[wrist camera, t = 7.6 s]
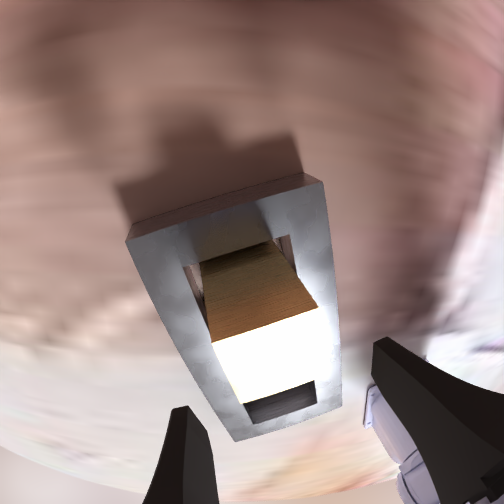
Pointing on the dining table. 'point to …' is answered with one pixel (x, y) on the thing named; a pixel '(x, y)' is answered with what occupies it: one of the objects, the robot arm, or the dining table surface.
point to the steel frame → (228, 240)
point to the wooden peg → (262, 321)
